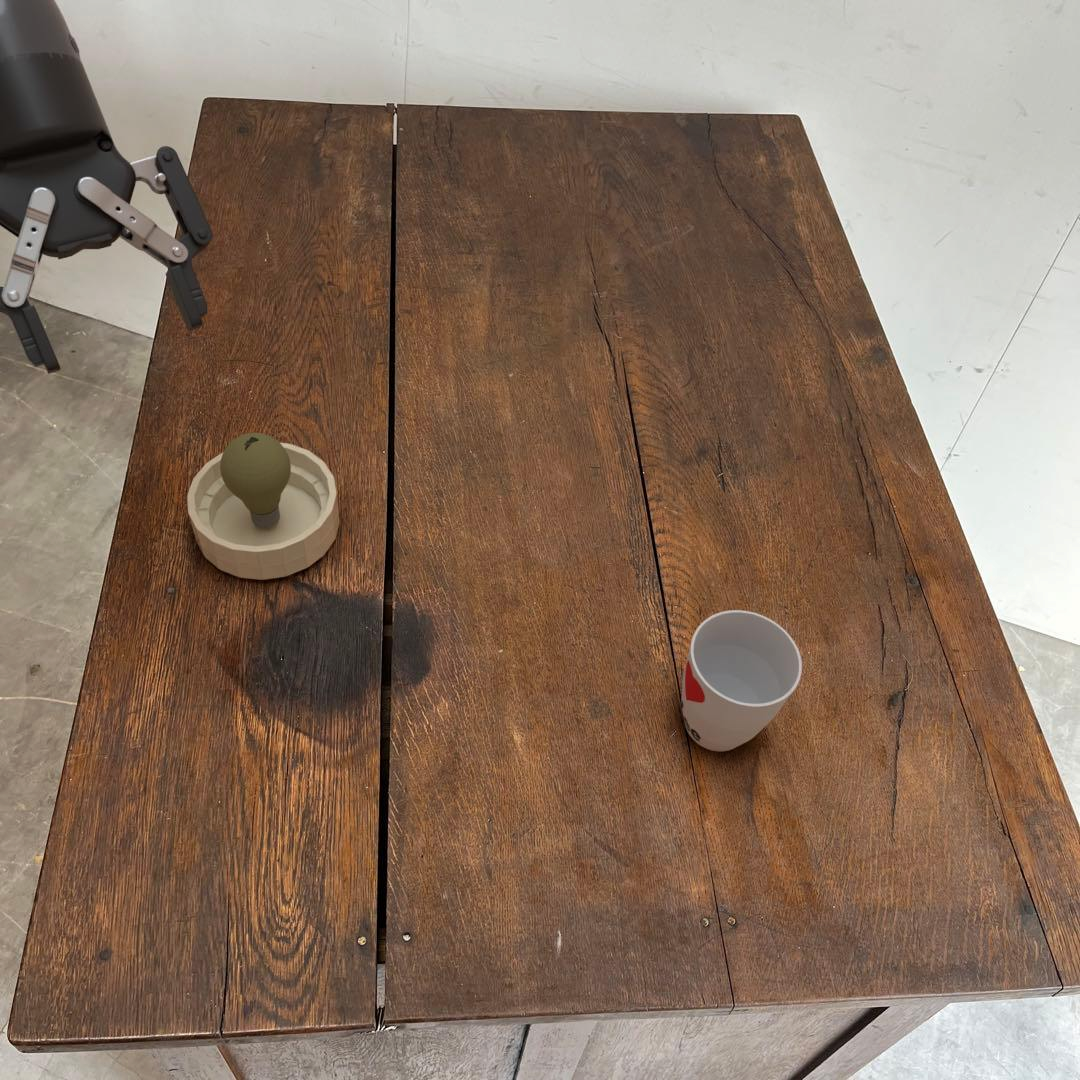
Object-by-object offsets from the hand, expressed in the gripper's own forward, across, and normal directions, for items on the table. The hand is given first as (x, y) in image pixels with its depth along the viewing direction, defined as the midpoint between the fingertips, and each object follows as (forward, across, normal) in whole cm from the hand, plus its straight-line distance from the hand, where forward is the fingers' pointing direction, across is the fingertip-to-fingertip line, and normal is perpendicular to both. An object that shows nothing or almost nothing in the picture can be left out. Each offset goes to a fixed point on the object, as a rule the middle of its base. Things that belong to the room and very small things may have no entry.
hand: (126, 349), depth 62 cm
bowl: (+16, -8, -25) cm, 30 cm away
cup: (+41, -31, 0) cm, 51 cm away
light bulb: (+15, -8, -25) cm, 30 cm away
